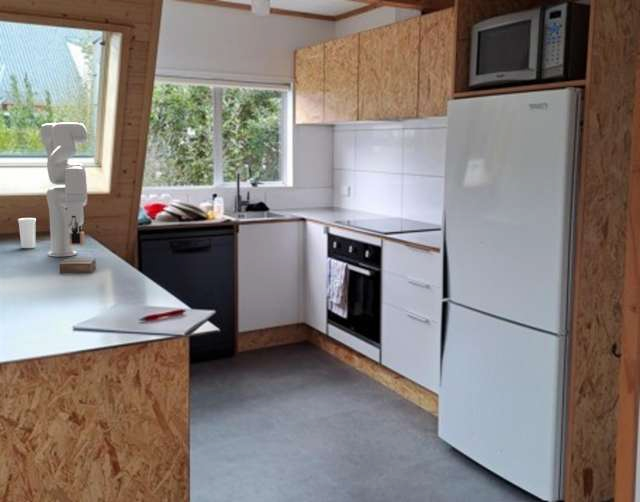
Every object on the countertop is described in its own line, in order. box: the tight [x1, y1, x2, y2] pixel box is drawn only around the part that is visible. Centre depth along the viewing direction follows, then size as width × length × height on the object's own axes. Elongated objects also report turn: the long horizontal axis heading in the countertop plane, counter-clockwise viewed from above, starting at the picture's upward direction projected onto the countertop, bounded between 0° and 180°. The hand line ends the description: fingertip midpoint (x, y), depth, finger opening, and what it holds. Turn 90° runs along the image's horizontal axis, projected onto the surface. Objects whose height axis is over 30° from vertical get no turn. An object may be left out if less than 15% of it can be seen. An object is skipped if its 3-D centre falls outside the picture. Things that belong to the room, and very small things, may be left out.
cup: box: [17, 217, 37, 249], centre depth 322 cm, size 8×8×14 cm
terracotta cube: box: [69, 231, 86, 246], centre depth 271 cm, size 5×5×5 cm
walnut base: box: [58, 257, 97, 274], centre depth 273 cm, size 12×12×4 cm
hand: (77, 241), depth 271 cm, fingers closed on terracotta cube, 4 cm apart
